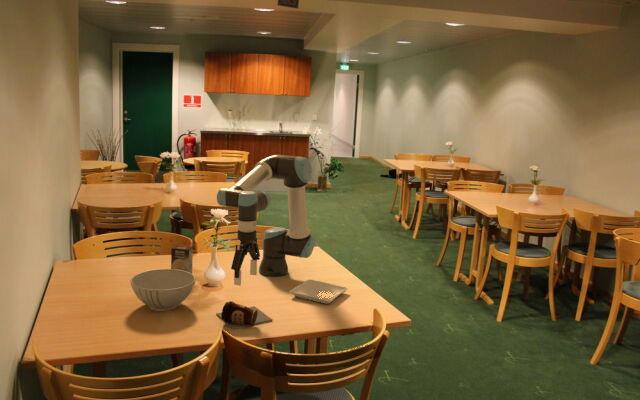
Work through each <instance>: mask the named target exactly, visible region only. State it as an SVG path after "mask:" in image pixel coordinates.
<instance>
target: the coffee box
mask: <svg viewBox="0 0 640 400" xmlns="http://www.w3.org/2000/svg"><path fill="white" fill-rule="evenodd" d="M170 251H171V253H170V255H171V257H170V258H171V259H170V261H171V263H170V269H177V270H183V271H186V272H189V273H191V274H193V257H194V255H193V252H194V247H193V246H192V245H182V244H181V245H180V244H174V246H172V247H171V250H170Z"/></svg>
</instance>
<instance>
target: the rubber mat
mask: <svg viewBox="0 0 640 400" xmlns="http://www.w3.org/2000/svg"><path fill="white" fill-rule="evenodd" d="M247 307H248V308H250V309H253V310H257V312H258V314H257V319H256V322H255V324H254V325H253V326H256V325H259V324H260V325H261V324H265V323H269V321H270V322H273V319H272V318H271V317H270V316H268V315H267V314H265V312H264V311H261V310H260V309H259V308H258V307H256V306H247ZM221 315H222V312H216V313H215V316H217V317H218V318H219V319H220V320H222V318H221V317H222V316H221ZM222 321H223V322H224V323H225V324H226V325H227V326H228V327H229V328H231V330H236V329H241V328H244V327H250V326H252V325H250V324H245V325H243V324H236V323H232V322H225V321H224V320H222ZM264 322H265V323H264Z"/></svg>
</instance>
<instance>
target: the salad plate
mask: <svg viewBox="0 0 640 400" xmlns="http://www.w3.org/2000/svg"><path fill="white" fill-rule="evenodd" d="M347 290H348V287H346V286H343V285H342V286H341V285H336V284H333V283H328V282H325V281H324V282H323V281H319V280H315V279H307V280H305V281H304V282H302V283H300V284H299V285H296V287H294V288H292V289H290V290H289V294H291V295H292V296H295V297H297V298H300V297H301V298H300V299H303V298H305V299H304V300H307V299H309V300H308V301H311V300H313V301H312V302H315V301H317V303H320V302H321V304H326V305H327V304H331V303H332V302H333V301H334V300H335V299H337V298H338V297H339V296H341V295H342V294H344V293H345V292H346V291H347ZM319 291H320V292H322V291H323V292H324V291H325V292H324V293H326V292H328V291H329V292H331V293H332V294H333V293H334V292H335V293H334V294H333V295H335V294H336V293H337V292H339V293H338V294H336V295H335V296H333V297H331V298H329V297H330V296H329V297H328V298H329V299H328V298H325V297H326V296H325V297H324V298H322V297H321V296H322V295H321V296H319V295H318V294H319V293H320V292H319ZM323 292H322V293H323ZM329 292H328V293H329ZM322 293H321V294H322ZM331 293H330V294H331ZM326 294H327V293H326ZM317 295H318V296H319V297H318V296H317ZM320 297H321V298H322V299H321V298H320ZM319 298H320V299H319Z"/></svg>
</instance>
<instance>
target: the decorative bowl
mask: <svg viewBox="0 0 640 400" xmlns="http://www.w3.org/2000/svg"><path fill="white" fill-rule="evenodd" d="M196 281H197V278H196V276H195V275H194V274H193V273H192V274H191V273H189V272H186V271H183V270H177V269H171V268H157V269H149V270H145V271H142V272H139V273H136V274H135V275H133V276H132V277H130V280H129V282H130V286H131V289H132V291H133V293H134V295H135V296H136V297H137V299H138V300H139V301H140V302H142V304H145V305H146V306H148V308H149V309H150V310H152V311H156V312H168V311H171V310H174V309H176V308H178V306H179V304H182V302H184V301H185V300H186V299H188V297H189V296H190V295H191V292H192V291H193V289H194V287H195V284H196Z"/></svg>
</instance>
